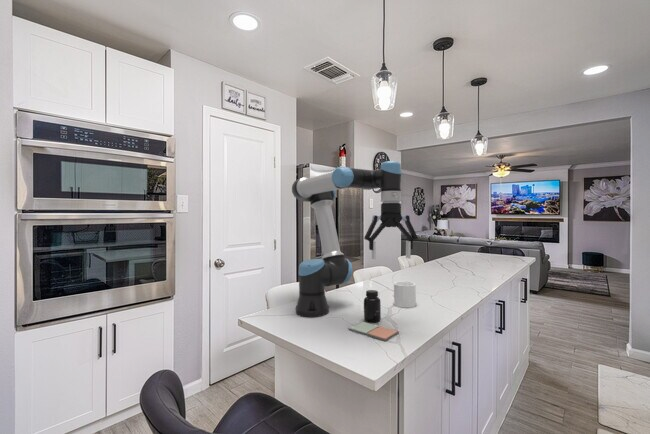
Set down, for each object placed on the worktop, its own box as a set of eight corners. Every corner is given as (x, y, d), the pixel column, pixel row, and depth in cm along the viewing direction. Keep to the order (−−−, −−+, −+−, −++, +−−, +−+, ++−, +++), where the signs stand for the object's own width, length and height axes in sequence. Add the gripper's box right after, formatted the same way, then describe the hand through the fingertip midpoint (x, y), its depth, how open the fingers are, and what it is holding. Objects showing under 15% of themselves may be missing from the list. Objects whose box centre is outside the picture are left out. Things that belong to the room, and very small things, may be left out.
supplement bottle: (380, 323, 116) (380, 293, 116) (363, 322, 118) (362, 293, 118) (381, 318, 123) (380, 289, 123) (364, 317, 124) (364, 289, 124)
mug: (411, 309, 133) (410, 287, 134) (390, 305, 140) (390, 284, 140) (420, 303, 143) (420, 282, 144) (401, 300, 150) (400, 279, 150)
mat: (348, 330, 110) (348, 328, 110) (363, 323, 117) (362, 321, 117) (385, 341, 99) (385, 339, 99) (399, 333, 106) (399, 330, 106)
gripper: (361, 202, 106) (361, 260, 106) (426, 202, 109) (426, 259, 109) (356, 203, 114) (356, 257, 114) (418, 203, 116) (418, 256, 117)
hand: (391, 258), depth 112 cm, fingers open, 13 cm apart
